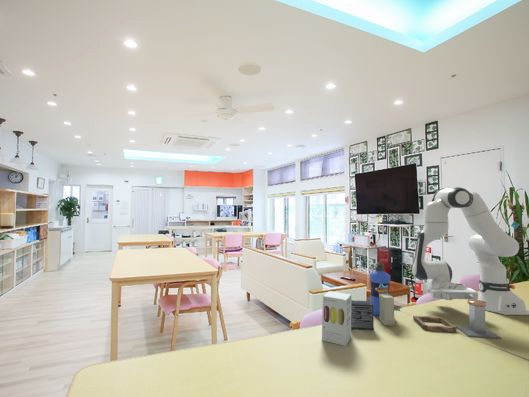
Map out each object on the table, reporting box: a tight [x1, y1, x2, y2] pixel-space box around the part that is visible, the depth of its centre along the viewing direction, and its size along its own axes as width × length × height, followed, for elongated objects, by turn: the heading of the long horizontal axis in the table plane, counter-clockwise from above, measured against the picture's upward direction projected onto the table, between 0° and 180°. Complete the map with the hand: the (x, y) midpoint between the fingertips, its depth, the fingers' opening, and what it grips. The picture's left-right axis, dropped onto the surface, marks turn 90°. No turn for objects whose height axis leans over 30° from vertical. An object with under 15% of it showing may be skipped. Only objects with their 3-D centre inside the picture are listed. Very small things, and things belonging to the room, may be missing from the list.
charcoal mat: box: [455, 325, 502, 340], centre depth 122 cm, size 12×10×1 cm
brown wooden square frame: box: [412, 315, 457, 333], centre depth 129 cm, size 13×13×2 cm
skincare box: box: [379, 293, 395, 326], centre depth 131 cm, size 6×4×12 cm
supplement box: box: [321, 290, 352, 347], centre depth 113 cm, size 10×9×17 cm
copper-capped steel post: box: [467, 299, 487, 334], centre depth 122 cm, size 6×6×12 cm
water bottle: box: [369, 261, 391, 318], centre depth 143 cm, size 9×9×25 cm
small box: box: [351, 299, 375, 331], centre depth 126 cm, size 11×6×10 cm, turn 84°
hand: (461, 298), depth 135 cm, fingers open, 8 cm apart
